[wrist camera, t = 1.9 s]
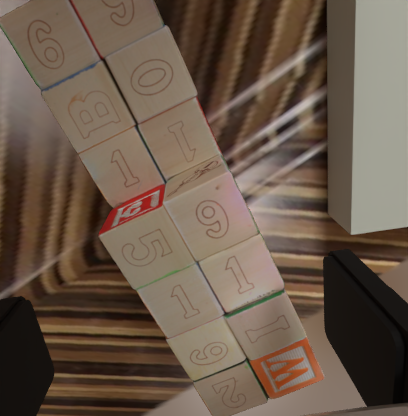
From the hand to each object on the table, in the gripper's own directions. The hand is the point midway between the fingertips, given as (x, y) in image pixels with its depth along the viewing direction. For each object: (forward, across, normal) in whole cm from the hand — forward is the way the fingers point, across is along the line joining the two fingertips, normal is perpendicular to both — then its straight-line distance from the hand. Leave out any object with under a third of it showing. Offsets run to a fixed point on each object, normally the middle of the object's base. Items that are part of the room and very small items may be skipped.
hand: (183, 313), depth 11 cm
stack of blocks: (+16, 0, -1) cm, 16 cm away
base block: (+16, -15, -5) cm, 22 cm away
